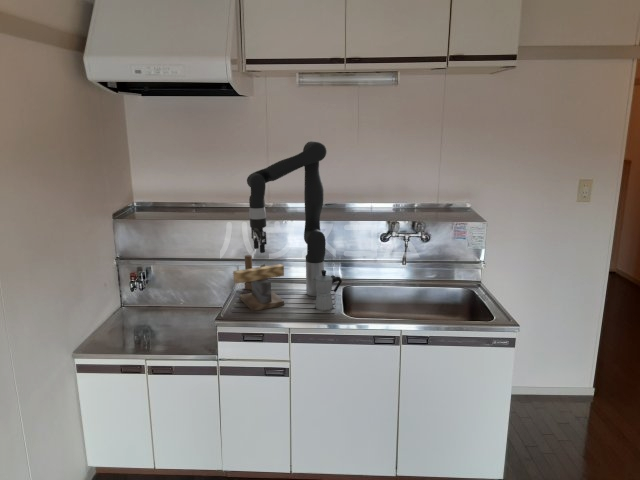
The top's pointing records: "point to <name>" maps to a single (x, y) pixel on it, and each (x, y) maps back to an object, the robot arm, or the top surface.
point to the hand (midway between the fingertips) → (259, 250)
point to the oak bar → (258, 273)
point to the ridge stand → (261, 296)
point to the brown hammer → (249, 266)
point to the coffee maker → (325, 290)
